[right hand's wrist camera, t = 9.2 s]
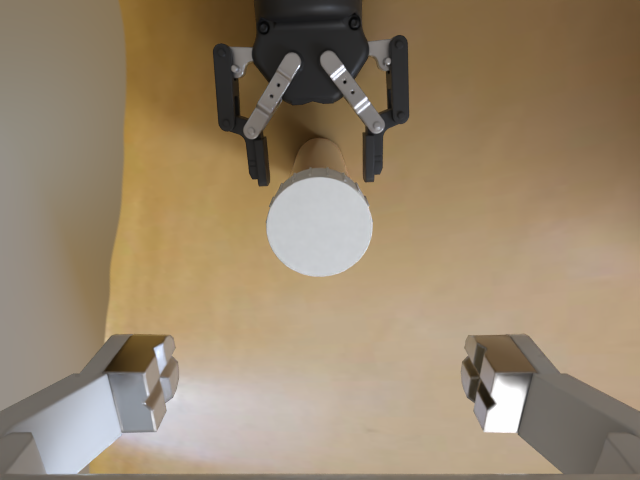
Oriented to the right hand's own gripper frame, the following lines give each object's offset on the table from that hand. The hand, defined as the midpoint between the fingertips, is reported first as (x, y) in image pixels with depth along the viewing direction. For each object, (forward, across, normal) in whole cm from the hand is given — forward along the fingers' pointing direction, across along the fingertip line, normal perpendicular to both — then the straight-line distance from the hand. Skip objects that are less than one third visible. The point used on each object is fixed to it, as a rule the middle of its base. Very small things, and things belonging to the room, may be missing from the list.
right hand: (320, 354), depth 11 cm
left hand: (+23, 0, 0) cm, 23 cm away
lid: (+10, 0, 0) cm, 10 cm away
